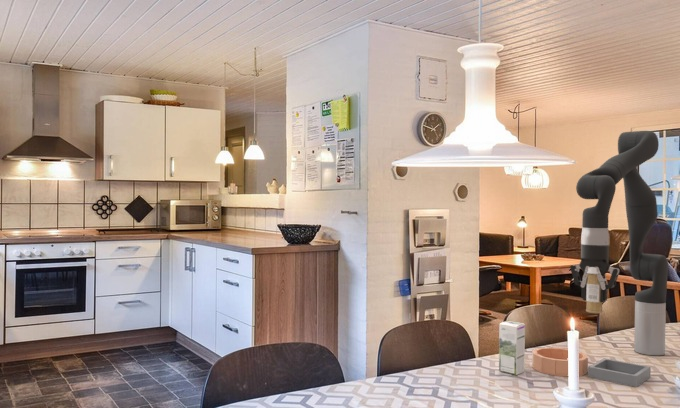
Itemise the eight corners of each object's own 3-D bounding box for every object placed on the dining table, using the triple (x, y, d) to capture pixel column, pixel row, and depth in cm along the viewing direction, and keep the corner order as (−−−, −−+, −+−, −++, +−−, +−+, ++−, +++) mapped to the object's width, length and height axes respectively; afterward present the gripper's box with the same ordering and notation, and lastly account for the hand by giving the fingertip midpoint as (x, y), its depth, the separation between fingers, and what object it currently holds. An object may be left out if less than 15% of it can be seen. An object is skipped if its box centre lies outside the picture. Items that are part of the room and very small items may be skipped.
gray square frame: (604, 368, 180) (604, 358, 180) (650, 377, 171) (650, 366, 171) (588, 377, 170) (588, 366, 170) (636, 387, 162) (636, 376, 162)
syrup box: (525, 371, 175) (525, 322, 175) (516, 375, 171) (516, 325, 171) (507, 367, 179) (508, 320, 179) (498, 371, 175) (498, 322, 175)
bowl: (545, 359, 190) (545, 345, 190) (594, 368, 179) (594, 353, 179) (523, 368, 178) (524, 353, 178) (575, 379, 168) (575, 363, 168)
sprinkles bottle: (605, 312, 173) (606, 267, 173) (596, 314, 170) (597, 267, 170) (591, 310, 177) (591, 265, 177) (582, 311, 174) (583, 266, 174)
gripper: (624, 244, 172) (623, 302, 172) (575, 241, 181) (574, 297, 181) (616, 245, 166) (615, 306, 166) (565, 242, 176) (565, 299, 176)
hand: (594, 301), depth 174 cm, fingers closed on sprinkles bottle, 4 cm apart
